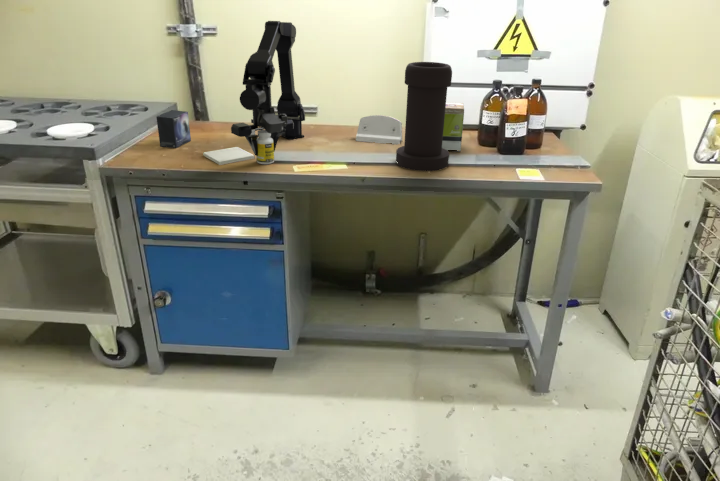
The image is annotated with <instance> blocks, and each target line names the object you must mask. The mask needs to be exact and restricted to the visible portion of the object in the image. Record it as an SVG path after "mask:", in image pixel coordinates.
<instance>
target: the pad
mask: <svg viewBox="0 0 720 481" xmlns="http://www.w3.org/2000/svg"><path fill="white" fill-rule="evenodd" d="M202 154H203V156H204V157H205V158H207V159H209V160H210V161H212V162H214V163H215V164H218V165H219V166H221V165H227V164H232V163H238V162H243V161H248V160H255V158H256V157H255V156H256V155H255V154H254V153H253V154H252V153H250V152H249V151H246V150H245V149H242V148H241V147H239V146H234V147H228V148H222V149H215V150H210V151H205V152H203V153H202Z"/></svg>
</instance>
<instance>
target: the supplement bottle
mask: <svg viewBox="0 0 720 481" xmlns="http://www.w3.org/2000/svg"><path fill="white" fill-rule="evenodd" d="M257 135H258V138H257V148H258V156H256V163H257V164H259V165H272V164H274V163H275V151H274V142H273V139H272V138H271V137H270V136H271V133H267V132H266V130H265V129H264V130H257Z"/></svg>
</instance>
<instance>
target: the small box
mask: <svg viewBox="0 0 720 481" xmlns="http://www.w3.org/2000/svg"><path fill="white" fill-rule="evenodd" d="M155 118H156V125H157V131H158V142H159V147H160V148H167V149H169V148H170V149H177V148H180V147H181V146H184V145H186V144H187V143H189V142H192V140H191V139H192V138H191V128H190V118H189V111H185V110H174V109H172V110H169V111H166V112H163V113H161V114H159V115H158V114H157V115H156V116H155Z"/></svg>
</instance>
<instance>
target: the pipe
mask: <svg viewBox="0 0 720 481" xmlns="http://www.w3.org/2000/svg"><path fill="white" fill-rule="evenodd" d="M452 79H453V69H452V67H451V65H450V64H448V63H443V62H437V61H432V62H431V61H415V62H414V61H413V62H409V63H408V64H407V65H406V67H405V70H404V85H406V86H407V92H406V93H407V94H406V111H405V112H406V113H405V126H404V145H402V146H400V147H398V148H397V149H396V152H395V154H396V156H395V162H396V161H397V162H398V165H397V166H399V167H400V168H403V169H406V170H410V171H418V172H434V171H441V170H443V169H446V168H448V167H449V159H450V158H449V157H450V152H449V151H448V150H446V149H443V148H442V141H443V130H444V119H445V108H446V103H447V95H448V94H447V93H448V88H449V87H451V86H452V81H453V80H452Z"/></svg>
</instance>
